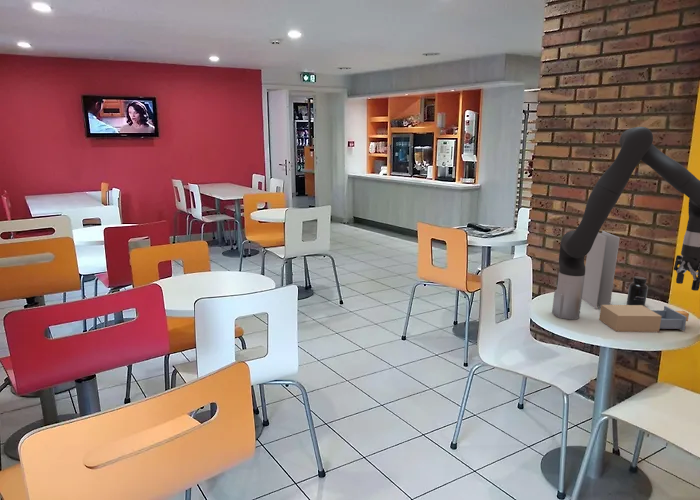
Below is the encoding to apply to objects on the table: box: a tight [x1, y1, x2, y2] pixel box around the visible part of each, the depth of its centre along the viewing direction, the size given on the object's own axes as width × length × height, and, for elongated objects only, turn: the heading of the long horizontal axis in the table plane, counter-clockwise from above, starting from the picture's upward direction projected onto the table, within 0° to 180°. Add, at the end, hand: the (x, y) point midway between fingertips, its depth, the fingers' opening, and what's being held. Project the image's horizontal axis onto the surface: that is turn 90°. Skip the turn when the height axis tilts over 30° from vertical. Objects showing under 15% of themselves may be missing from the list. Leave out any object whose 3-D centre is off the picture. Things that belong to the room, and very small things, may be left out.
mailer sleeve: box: [598, 304, 662, 333], centre depth 191 cm, size 16×12×6 cm
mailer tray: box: [650, 305, 690, 332], centre depth 192 cm, size 20×12×5 cm, turn 92°
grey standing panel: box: [582, 230, 621, 310], centre depth 213 cm, size 14×6×30 cm, turn 179°
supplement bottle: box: [626, 275, 649, 307], centre depth 215 cm, size 7×7×12 cm
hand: (686, 286), depth 189 cm, fingers open, 8 cm apart
